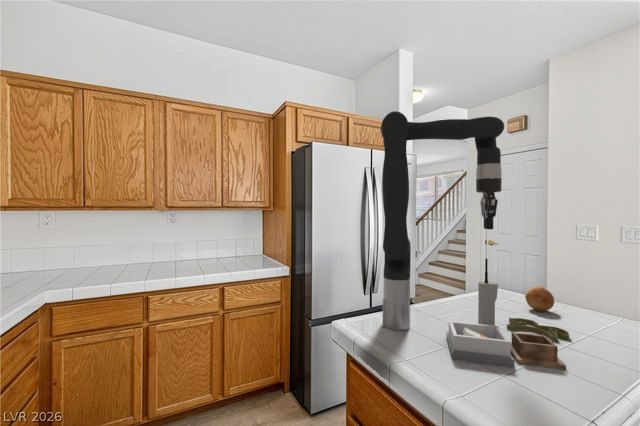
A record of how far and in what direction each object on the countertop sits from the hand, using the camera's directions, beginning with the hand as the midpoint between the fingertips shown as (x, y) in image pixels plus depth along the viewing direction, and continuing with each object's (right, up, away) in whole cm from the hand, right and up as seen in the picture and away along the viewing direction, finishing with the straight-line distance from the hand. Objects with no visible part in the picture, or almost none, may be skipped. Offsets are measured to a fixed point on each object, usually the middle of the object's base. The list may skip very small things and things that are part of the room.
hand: (488, 228), depth 102 cm
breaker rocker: (-11, -31, -14) cm, 36 cm away
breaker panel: (-11, -35, -14) cm, 40 cm away
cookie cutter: (+17, -36, +1) cm, 40 cm away
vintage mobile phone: (0, -35, 0) cm, 35 cm away
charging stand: (+3, -35, -18) cm, 39 cm away
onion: (+34, -35, +23) cm, 54 cm away
